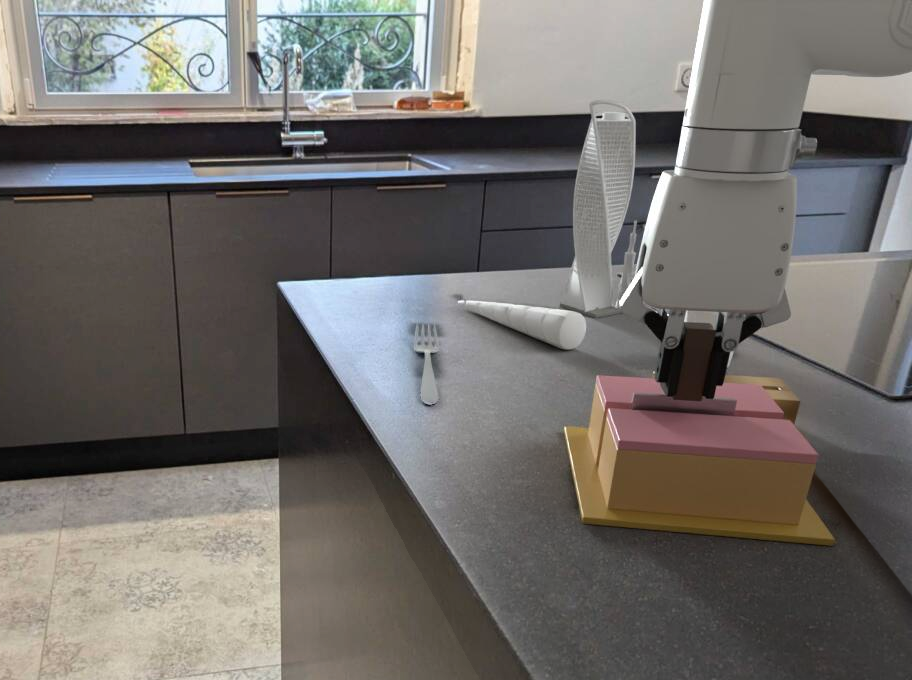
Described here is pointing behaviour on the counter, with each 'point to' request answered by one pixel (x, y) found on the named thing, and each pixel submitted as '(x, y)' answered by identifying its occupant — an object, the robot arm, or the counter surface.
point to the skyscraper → (601, 212)
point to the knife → (690, 378)
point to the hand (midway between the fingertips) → (686, 390)
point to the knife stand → (771, 392)
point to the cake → (694, 467)
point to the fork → (427, 365)
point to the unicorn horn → (535, 321)
